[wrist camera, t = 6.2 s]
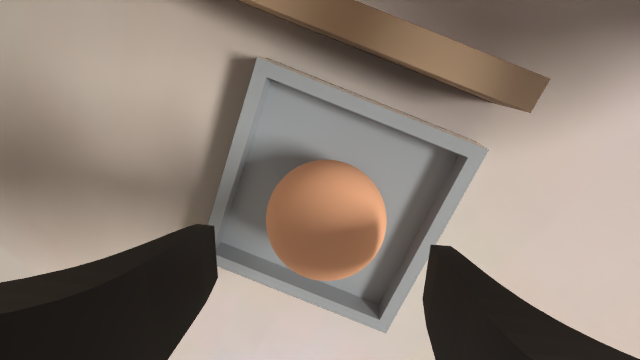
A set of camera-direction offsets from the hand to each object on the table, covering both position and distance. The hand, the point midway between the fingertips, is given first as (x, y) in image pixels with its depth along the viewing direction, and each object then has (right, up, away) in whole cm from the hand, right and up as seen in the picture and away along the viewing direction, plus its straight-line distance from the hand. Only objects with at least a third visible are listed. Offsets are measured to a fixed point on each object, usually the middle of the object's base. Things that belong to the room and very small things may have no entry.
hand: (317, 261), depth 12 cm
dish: (+1, +2, +6) cm, 6 cm away
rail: (+1, +9, +4) cm, 10 cm away
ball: (+1, +2, +5) cm, 6 cm away
